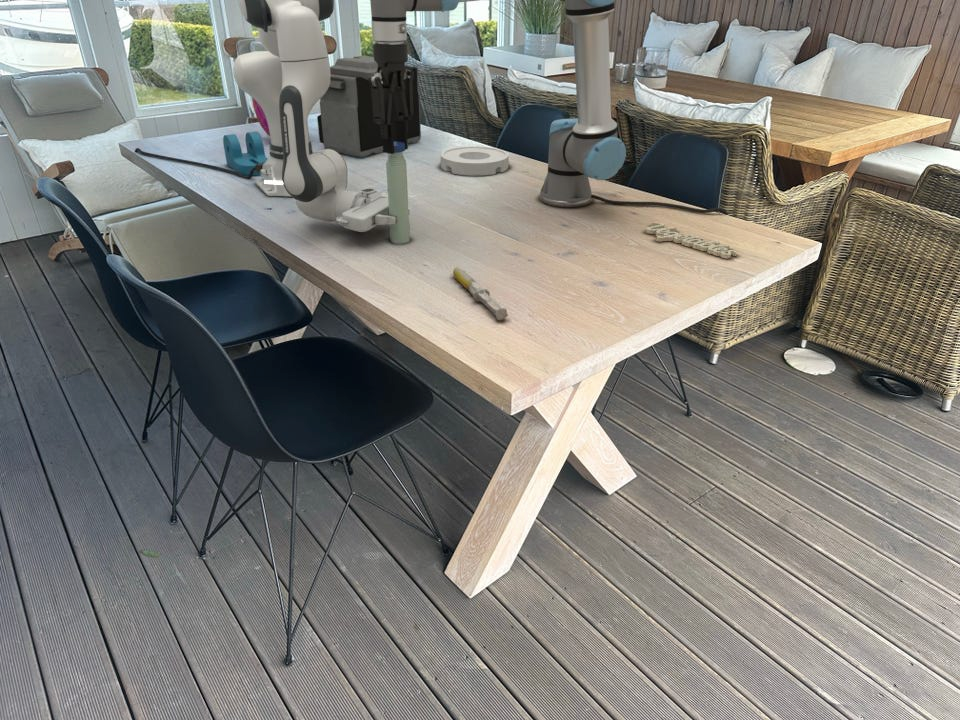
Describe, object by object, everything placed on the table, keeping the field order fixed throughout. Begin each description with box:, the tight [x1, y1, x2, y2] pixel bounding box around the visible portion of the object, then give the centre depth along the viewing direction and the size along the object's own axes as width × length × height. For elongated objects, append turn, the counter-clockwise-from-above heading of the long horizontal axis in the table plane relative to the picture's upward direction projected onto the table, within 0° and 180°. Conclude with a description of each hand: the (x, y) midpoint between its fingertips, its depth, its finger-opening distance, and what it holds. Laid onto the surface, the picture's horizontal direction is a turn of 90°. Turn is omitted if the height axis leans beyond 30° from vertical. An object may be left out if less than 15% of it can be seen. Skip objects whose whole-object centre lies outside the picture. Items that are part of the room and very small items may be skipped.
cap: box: [394, 142, 406, 153], centre depth 162 cm, size 5×5×2 cm
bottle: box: [385, 151, 411, 245], centre depth 167 cm, size 5×5×24 cm
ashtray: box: [440, 145, 510, 177], centre depth 233 cm, size 23×23×4 cm
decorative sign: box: [645, 221, 738, 259], centre depth 174 cm, size 26×1×10 cm
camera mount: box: [222, 131, 269, 176], centre depth 226 cm, size 18×10×10 cm, turn 35°
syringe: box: [452, 266, 509, 321], centre depth 145 cm, size 25×4×3 cm, turn 21°
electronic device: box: [316, 55, 422, 159], centre depth 250 cm, size 37×22×30 cm, turn 144°
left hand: (402, 216), depth 170 cm, fingers closed on bottle, 5 cm apart
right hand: (395, 150), depth 162 cm, fingers closed on cap, 4 cm apart
